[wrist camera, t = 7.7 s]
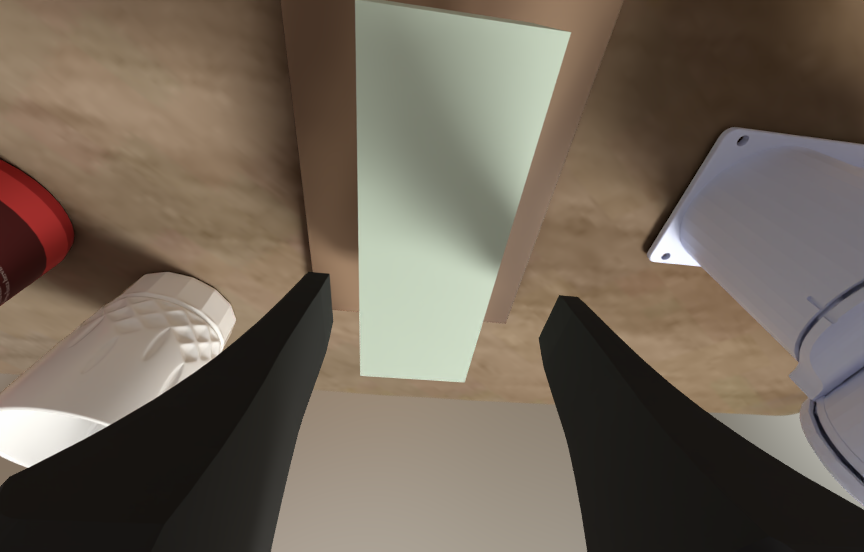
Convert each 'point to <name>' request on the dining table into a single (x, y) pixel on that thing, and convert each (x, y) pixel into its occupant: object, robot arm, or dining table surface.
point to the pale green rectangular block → (440, 174)
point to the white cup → (113, 364)
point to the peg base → (337, 127)
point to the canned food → (28, 231)
